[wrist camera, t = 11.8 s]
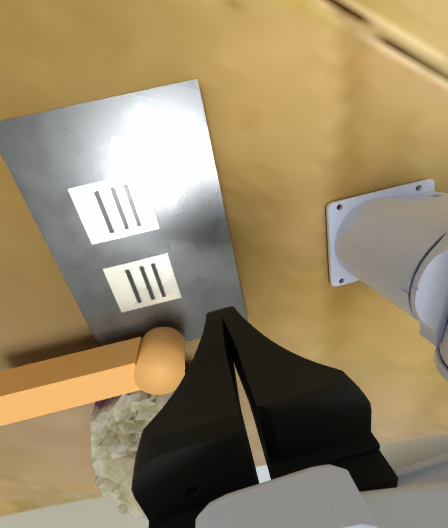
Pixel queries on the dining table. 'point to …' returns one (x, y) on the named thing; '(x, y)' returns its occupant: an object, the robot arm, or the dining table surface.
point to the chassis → (130, 209)
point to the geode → (121, 443)
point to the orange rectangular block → (94, 375)
